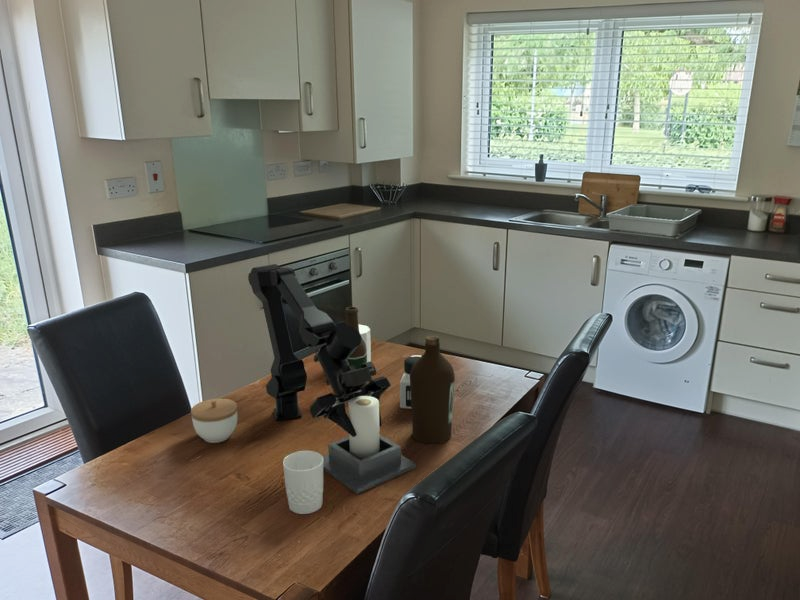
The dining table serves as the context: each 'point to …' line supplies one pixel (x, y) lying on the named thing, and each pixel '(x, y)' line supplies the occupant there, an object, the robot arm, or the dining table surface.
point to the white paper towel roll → (364, 426)
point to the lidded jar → (214, 419)
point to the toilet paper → (366, 339)
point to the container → (407, 382)
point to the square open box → (365, 464)
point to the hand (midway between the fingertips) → (367, 431)
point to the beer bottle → (360, 352)
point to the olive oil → (432, 395)
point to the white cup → (304, 481)
